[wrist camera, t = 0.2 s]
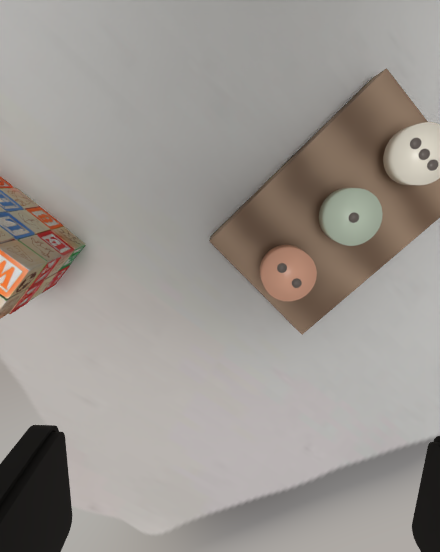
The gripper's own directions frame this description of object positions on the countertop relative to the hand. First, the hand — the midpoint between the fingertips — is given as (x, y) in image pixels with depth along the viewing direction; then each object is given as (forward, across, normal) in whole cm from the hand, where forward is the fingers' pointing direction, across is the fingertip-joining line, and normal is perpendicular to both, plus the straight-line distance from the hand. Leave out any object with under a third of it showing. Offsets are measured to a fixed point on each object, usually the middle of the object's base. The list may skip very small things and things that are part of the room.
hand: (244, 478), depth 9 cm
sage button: (+26, -11, -5) cm, 28 cm away
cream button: (+26, -16, -10) cm, 32 cm away
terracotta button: (+26, -6, 0) cm, 26 cm away
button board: (+30, -11, -5) cm, 33 cm away
